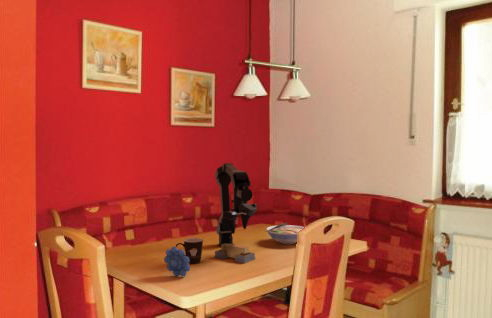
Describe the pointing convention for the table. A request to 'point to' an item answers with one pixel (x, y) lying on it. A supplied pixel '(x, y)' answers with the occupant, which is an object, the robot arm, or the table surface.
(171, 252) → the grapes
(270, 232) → the ramen bowl
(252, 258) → the grey frame
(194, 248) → the coffee mug
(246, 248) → the brown rectangular block
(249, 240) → the table surface
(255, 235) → the table surface
